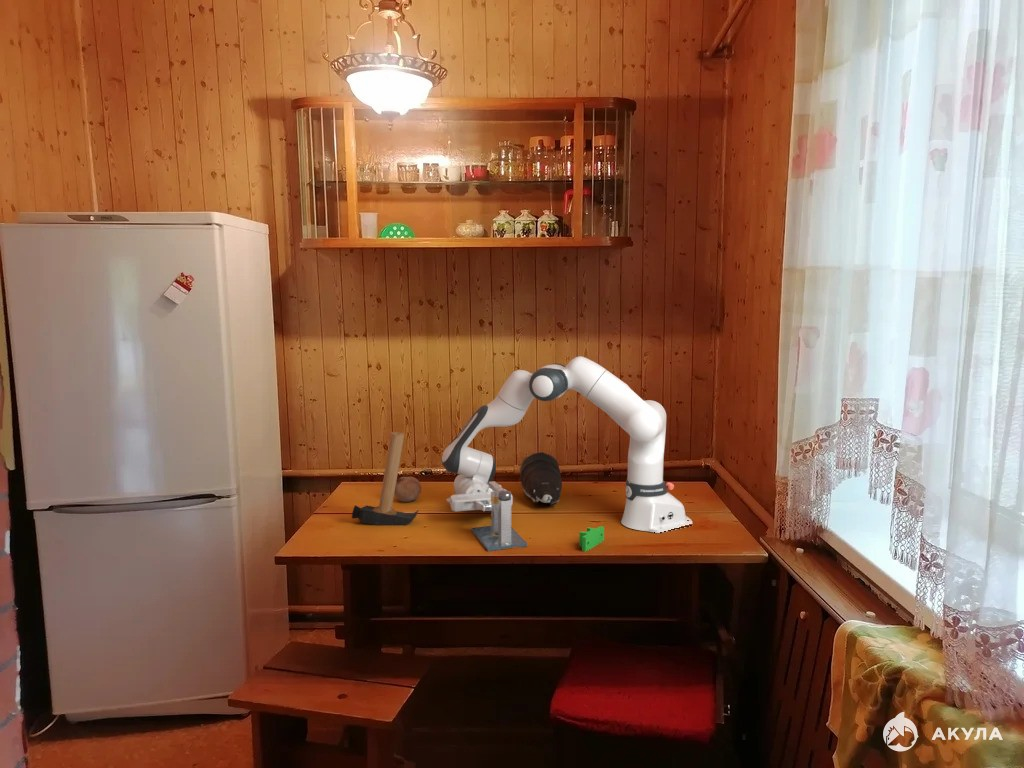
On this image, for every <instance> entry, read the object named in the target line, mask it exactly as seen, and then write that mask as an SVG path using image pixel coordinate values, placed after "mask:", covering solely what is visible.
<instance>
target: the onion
mask: <svg viewBox="0 0 1024 768" xmlns="http://www.w3.org/2000/svg"><path fill="white" fill-rule="evenodd" d="M421 493H422V484H421V482H420V481H419V479H418V478H416V477H414V476H402V477H399V478H397V481H396V487H395V492H394V497H396V499H397V500H399V501H400V502H401V503H408V502H409V503H410V502H414V501H416V500H417V499H418V498H419V497H420V495H421Z"/></svg>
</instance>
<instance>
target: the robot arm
mask: <svg viewBox="0 0 1024 768" xmlns="http://www.w3.org/2000/svg"><path fill="white" fill-rule="evenodd" d="M569 390H573V391H575V392H577V393H579V394H580V395H582V396H583V397H584V398H585V399H587V400H588V401H590V402H591V403H593V404H594V405H595V406H596V407H597V408H599V409H601V410H602V411H603V412H604V413H606V414H607V415H608V416H609V417H610V418H611V419H612V420H613V421H614V422H615V423H616V424H617V426H618V425H619V427H621V429H623V430H624V431H625V432H626V433H627V434H628V436H629V446H628V453H627V478H626V480H625V507H624V511H623V514H622V518H621V521H620V523H621V524H622V525H623V526H624V527H626V528H629V529H633V530H637V531H643V532H651V533H654V532H655V534H660V532H662V533H665V532H664V531H666V532H669V531H668V530H671V529H674V528H679V527H681V526H685V525H689V524H693V521H692V519H691V518H690V517H688V516H687V515H686V511H685V509H686V508H685V506H684V505H683V503H682V502H681V501H680V500H678V499H677V498H676V497H675V496H673V495H672V493H670V492H668V490H670V491H672V490H674V489H675V485H674V483H672V482H667V481H665V480H664V461H665V460H664V456H665V445H666V433H667V431H666V430H667V413H666V410H665V408H664V406H662V404H661V403H660V402H657V401H655V400H649V399H648V400H644V399H643V398H642V397H640V396H639V395H638V394H637V393H636V392H634V390H633V389H632V388H630V386H629V385H628V384H627V383H626V382H624V381H623V380H621V379H620V378H619V377H617V376H616V375H614V374H612V372H610V371H609V370H607V368H604V367H603V366H602V365H600V364H599V363H597V362H595V361H593V360H591V359H589V358H587V357H585V356H581V355H579V356H576V357H574V358H572V359H571V360H570V361H569V362H568V363H567V364H566V365H564V364H562V363H551V364H547V365H544V366H542V367H540V368H539V369H537V370H535V371H534V372H533V373H531V372H529V371H528V370H524V369H517V370H515V371H514V370H513V372H512V373H511V374H510V375H509V376H508V378H507V379H506V380H505V382H504V383H503V385H502V386H501V388H500V390H499V391H498V394H497V395H496V397H494V399H493V400H491V401H490V402H489V403H487V404H484V405H481V406H479V407H478V409H477V410H476V411H475V412H473V414H472V416H471V417H470V418H469V419H468V421H466V423H465V425H464V426H463V428H461V430H460V431H459V432H458V434H457V435H456V437H455V438H454V439H453V440H452V441H451V442H450V443H448V445H447V446H446V448H445V449H444V451H443V453H442V455H441V464H442V466H443V468H444V469H445V471H446V472H448V473H453V474H458V475H457V476H456V477H455V479H454V482H453V489H454V492H455V494H451V496H450V497H449V498H446V500H445V501H446V503H448V504H449V505H450V510H451V511H452V512H455V513H459V512H467V511H479V510H480V511H483V512H487V511H489V512H491V492H494V491H493V490H492V489H491V488H489V487H488V482H492V481H493V480H494V478H495V475H496V472H497V464H496V461H495V458H494V456H493V455H492V454H489V453H487V452H484V451H481V450H478V449H475V448H472V447H470V446H469V444H471V442H472V441H473V439H475V437H476V436H477V434H478V433H479V432H480V431H482V430H483V429H486V428H495V427H498V428H499V427H500V428H501V427H502V428H503V427H504V428H506V427H512V426H515V425H517V424H519V423H520V421H522V420H523V418H524V416H525V415H526V413H527V411H528V410H529V408H530V406H531V403H532V402H533V400H535V399H536V400H539V401H542V402H550V401H554V400H555V399H559V398H561V397H562V396H564V395H565V394H566V393H567V392H568V391H569ZM499 485H500V486H501V487H502V485H501V484H499ZM503 489H504V490H505V491H508V490H507V489H505V488H503ZM513 501H514V497H513V494H512V493H511V507H512V506H513V505H514V504H513V503H514V502H513ZM687 520H689V521H687ZM671 531H672V530H671Z"/></svg>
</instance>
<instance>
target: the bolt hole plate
mask: <svg viewBox="0 0 1024 768" xmlns="http://www.w3.org/2000/svg"><path fill="white" fill-rule="evenodd" d="M470 531H471V533H474V534H473V535H474V536H475V537H476V539H477V538H478V539H479V540H478V539H477V540H478V541H479V542H480V544H481V543H482V544H483V545H482V544H481V545H482V546H483V548H484V549H486V551H487V552H494V551H495V550H496V551H502V550H501V549H504V550H508V549H507V548H512V549H514V548H513V547H520V548H526V547H525V546H528V545H529V544H528V542H527V541H526V540H525V539H524V538H523V537H522V536H521V535H520V534H519V533H518V532H517V530H515V529H514V528H513V527H512V526H511V543H507V544H501V543H500V542H499V541H498V534H496V533H495V532H494V531H493V530H492V529H491V525H487V526H486V525H485V526H477V527H470ZM523 546H524V547H523Z"/></svg>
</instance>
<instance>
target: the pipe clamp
mask: <svg viewBox="0 0 1024 768" xmlns="http://www.w3.org/2000/svg"><path fill="white" fill-rule="evenodd" d="M578 534H579V539H578V540H579V541H578V543H579V546H578V547H581V552H582V551H585V552H584V553H587V552H588V551H590V550H592V549H593V548H595V547H596V546H598V545H599V543H600V544H601V543H603V542H604V541H605V527H604V526H601V525H600V526H599V527H596V528H594V527H586V531H579V533H578ZM602 541H603V542H602ZM589 549H590V550H589ZM587 550H588V551H587ZM586 551H587V552H586Z"/></svg>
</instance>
